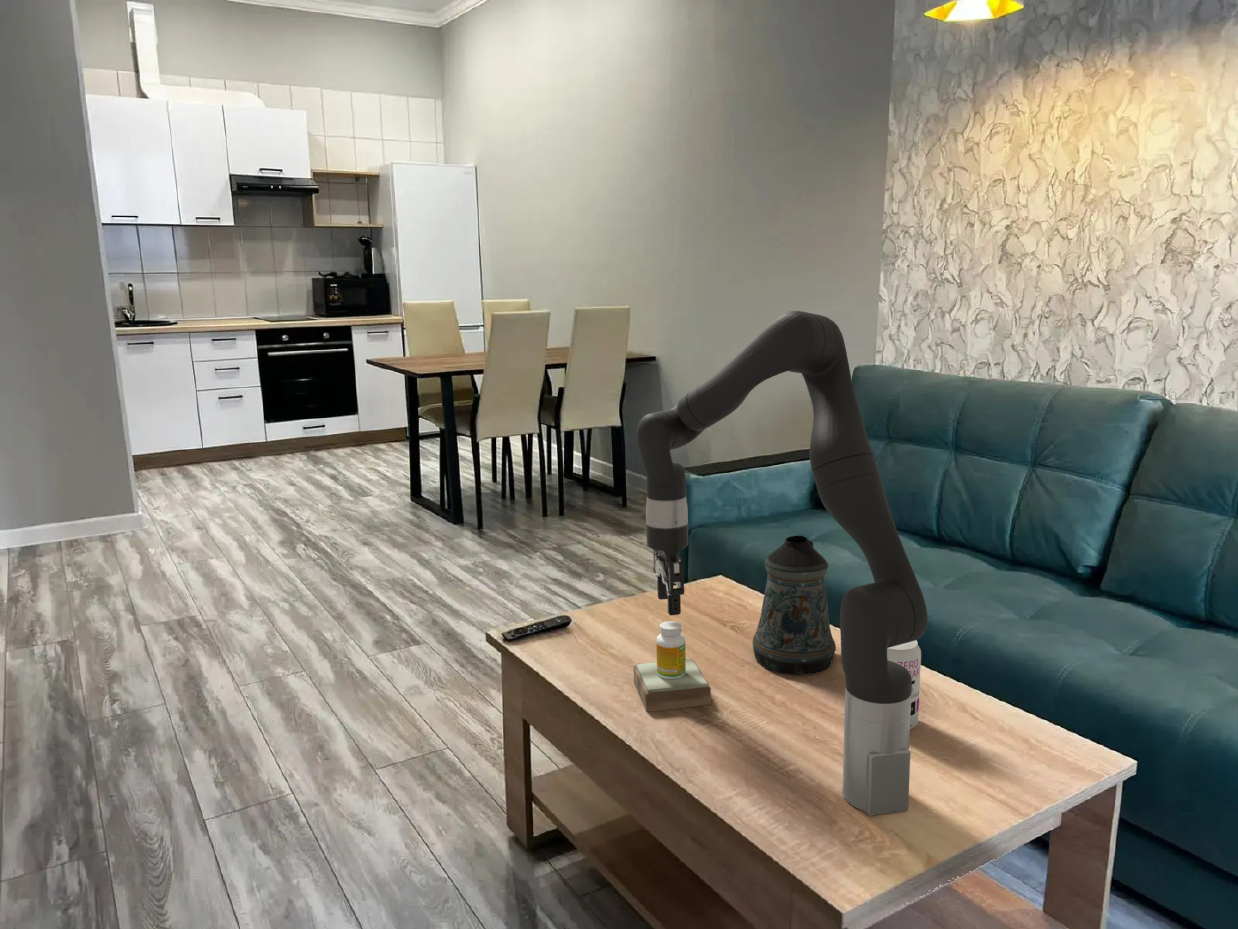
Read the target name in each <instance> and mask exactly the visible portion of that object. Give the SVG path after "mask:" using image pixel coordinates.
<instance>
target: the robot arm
mask: <svg viewBox="0 0 1238 929" xmlns="http://www.w3.org/2000/svg"><path fill="white" fill-rule="evenodd" d="M785 372H789V373H797V374H801V375H802V377H803V379H804V383H805V385H806V388H807V391H808V394H809V397H810V402H811V406H812V412H813V421H812V428H811V429H812V430H811V435H810V443H809V464H810V468H811V472H812V475H813V479H814V482H815V485H816V489H817V493H818V495H819V498H820V502H821V504H822V505H823V507H824V508H825V509H826V511H827V512H828V514H829V515H830V516H831V517H832V518H833V520H835V521H836V522H837V524H838V525H839V526H840V527H841V528H842V529H843V530H844V531H845V532H846V533H847V534H848V535H849V536H850V537H851V538H852V539H853V541H854V542H855V543H856V545H858V547H859V548H860V549H861V550H860V551H862V553H863V554H864V557H865V560H866V561H867V564H868V566H869V568H870V571H871V574H872V577H873V580H874V581H873V582H871V583H868V584H863V585H858V586H855V587H851V588H850V589H848V590H847V591H846V592H845V594H844V595H843V598H842V600H841V603H840V604H841V605H840V610H839V612H840V614H839V628H840V631H839V633H840V658H841V659H840V660H841V667H842V670H843V673H844V677H845V678H844V679H845V684H844V685H845V686H844V687H845V688H844V689H845V690H844V692H845V693H844V722H843V723H844V724H843V725H844V726H843V757H842V758H843V760H842V763H843V764H842V795H843V798H844V799H845V800H846V802H847V803H849V804H850V805H852V806H853V807H854V808H856V809H859V810H861V811H863V812H865V813H866V814H867V816H871V817H872V816H876V815H878V816H879V815H884V814H892V813H898V812H907V811H909V800H910V799H909V798H910V796H909V795H910V777H911V776H910V775H911V756H912V754H911V751H910V736H911V734H910V731H911V730H910V713H911V693H912V678H911V674H910V673H909V671H908V670H907V669H906V668H904V667H903V666H901V665H899V664H897V663H895V662H892V661H889V660H888V659H887V648H889V647H893V646H897V645H901V644H904V643H908V642H912V641H915V640H916V641H917V640H920V639H921V638H922V637H923V636H924V634H925V633H926V631H927V627H928V623H929V621H928V619H929V618H928V617H929V616H928V610H927V605H926V601H925V598H924V595H923V592H922V590H921V587H920V583H919V581H918V579H917V577H916V574H915V572H914V570H913V567H912V565H911V563H910V561H909V557H908V555H907V552H906V551H905V548H904V546H903V542H902V540H901V538H900V536H899V533H898V532H899V531H898V530H897V527H896V523H895V521H894V517H893V515H892V511H891V508H890V506H889V503H888V499H887V497H886V493H885V489H884V486H883V482H882V478H881V475H880V471H879V468H878V464H877V462H876V458H875V454H874V451H873V450H872V446H871V444H870V440H869V437H868V435H867V434H868V433H867V430H866V427H865V423H864V420H863V417H862V413H861V410H860V407H859V404H858V400H857V397H856V394H855V390H854V385H853V379H852V375H851V370H850V363H849V358H848V353H847V347H846V343H845V340H844V336H843V333H842V331H841V329H840V328H839V326H838V325H837V323H835V321H834V320H832V319H831V318H829V317H827V316H825V315H821V314H816V313H812V312H811V313H810V312H806V311H801V310H794V311H791V310H790V311H788V312H785V313H783V314H781V315H779V316H777V318H775V319H774V320H773V321H771V323H770V324H769V325H768V326H766V328H764V329H763V331H761V333H759V334H758V335H756V337H755V338H754V339H753V340H752V341H751V342H750V343H749V344H748V345H747V346H746V347H745V348H743V349H742V350H741V351H740V352H739V353H738V354H737V355H736V356H735V357H734V358H733V359H731V360H730V361H729V362H728V363H727V364H726V365H724V366H723V367H722V368H720V369H719V370H717V371H716V372H715V373H714V374H712V375H711V376H709V377H708V378H706V379H705V380H703V381H702V382H700V383H699V384H698V385H696V386H695V387H692V389H690V390H688V391H687V392H686V393H684V394H683V395H682V396H681V397H680V399H679V400H678V403H677V405H675V406H674V407H672V408H670V409H667V410H661V411H655V412H651V413H648V414H645V415H644V416H643V417H641V419H640V421H639V423H638V425H637V429H636V443H637V449H638V451H639V454H640V455H639V456H640V458H641V463H642V467H643V468H644V471H645V476H646V482H645V483H646V503H645V523H646V524H645V530H646V531H645V532H646V545H647V547H648V548H649V549H651V550H652V551H653V569H652V570H653V573H654V574H655V575H654V576H655V578H656V581H657V583H656V584H657V585H656V587H657V598H658V599H659V600H667V613H668V615H669V616H679V615H680V614H681V613H682V609H681V608H682V607H681V596H682V595H685V575H684V574H685V573H684V565H685V564H684V561H682V560H681V557H679V554H678V552H679V551H680V550H683V549H685V548H687V547H688V545H689V520H688V519H689V518H688V517H689V516H688V514H689V511H688V510H689V509H688V503H687V489H686V488H687V487H686V486H687V484H686V483H687V482H686V481H687V480H686V478H687V477H686V471H685V470H686V469H685V468H684V466H683V465H681V464H680V463H677V462H673V459H672V454H671V450H675V449H679V448H682V447H683V446H686V445H688V444H689V443H691V442H693V441H694V440H695V439H696V438H697V437H698V436H700V435H701V434H702V433H703V432H704V431H706V429H708V428H709V427H711V426H713V425H715V424H716V423H718V422H720V421H722V420H723V419H724V418H727V417H728V416H729V415H731V414H732V413H733V412H735V411H736V410H737V409H738V408H739V407H740V406H741V405H742V404H743V402H745V400H746V398H747V396H749V394H750V393H751V391H752V390H754V389H755V388H756V387H758V385H760V384H762V383H763V382H764V381H766V380H768V379H770V378H773V377H775V376H778V375H780V374H782V373H783V374H784V373H785ZM674 584H676V587H675V588H674Z"/></svg>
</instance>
